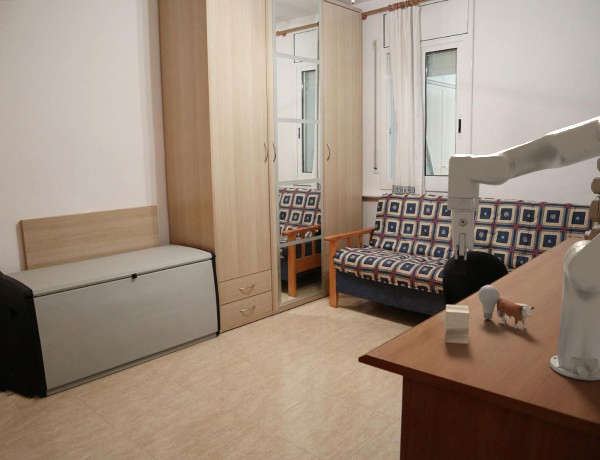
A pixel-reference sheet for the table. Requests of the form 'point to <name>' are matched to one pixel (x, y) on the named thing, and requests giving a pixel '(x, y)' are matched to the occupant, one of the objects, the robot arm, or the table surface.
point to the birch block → (457, 324)
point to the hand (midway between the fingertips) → (459, 274)
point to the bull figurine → (513, 311)
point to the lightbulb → (488, 300)
